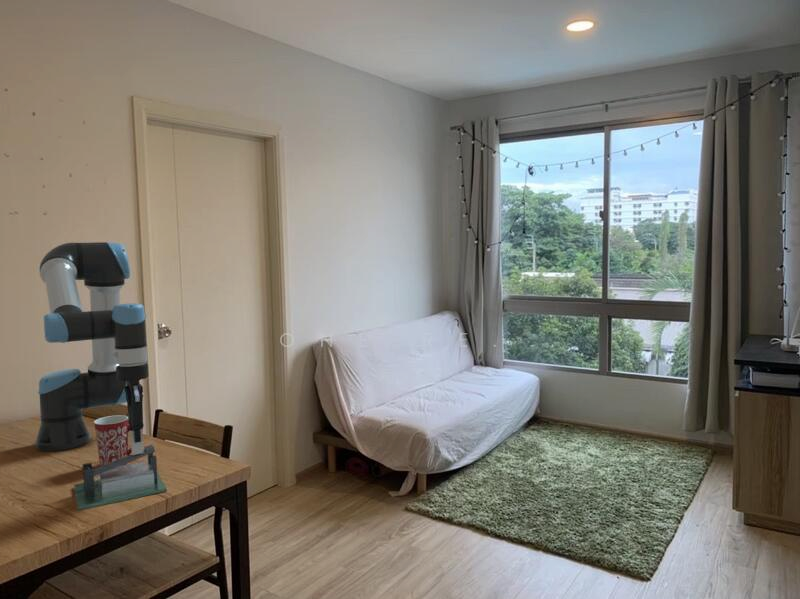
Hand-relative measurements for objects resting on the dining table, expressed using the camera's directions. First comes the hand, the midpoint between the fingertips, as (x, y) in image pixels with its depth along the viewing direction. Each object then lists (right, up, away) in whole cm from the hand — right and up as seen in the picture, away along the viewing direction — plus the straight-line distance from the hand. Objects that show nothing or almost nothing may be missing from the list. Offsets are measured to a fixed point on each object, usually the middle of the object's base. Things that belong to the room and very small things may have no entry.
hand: (137, 453), depth 155 cm
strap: (-3, -3, -2) cm, 5 cm away
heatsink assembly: (-4, -9, -1) cm, 10 cm away
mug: (-13, -8, +17) cm, 23 cm away
